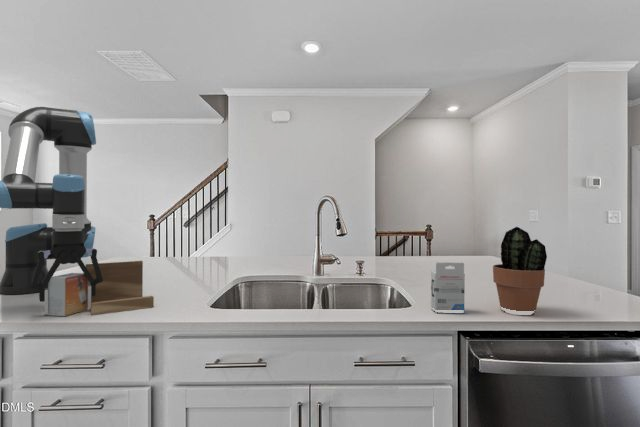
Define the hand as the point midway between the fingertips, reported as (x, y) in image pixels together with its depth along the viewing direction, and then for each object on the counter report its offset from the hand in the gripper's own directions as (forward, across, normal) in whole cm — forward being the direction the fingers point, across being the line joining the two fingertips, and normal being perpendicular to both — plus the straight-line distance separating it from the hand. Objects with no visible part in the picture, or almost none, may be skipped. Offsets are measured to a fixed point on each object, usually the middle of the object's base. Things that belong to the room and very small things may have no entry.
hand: (68, 310), depth 109 cm
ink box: (+1, +90, -59) cm, 108 cm away
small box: (+1, 0, 0) cm, 1 cm away
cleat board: (+1, +13, +2) cm, 13 cm away
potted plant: (+1, +107, -71) cm, 128 cm away
